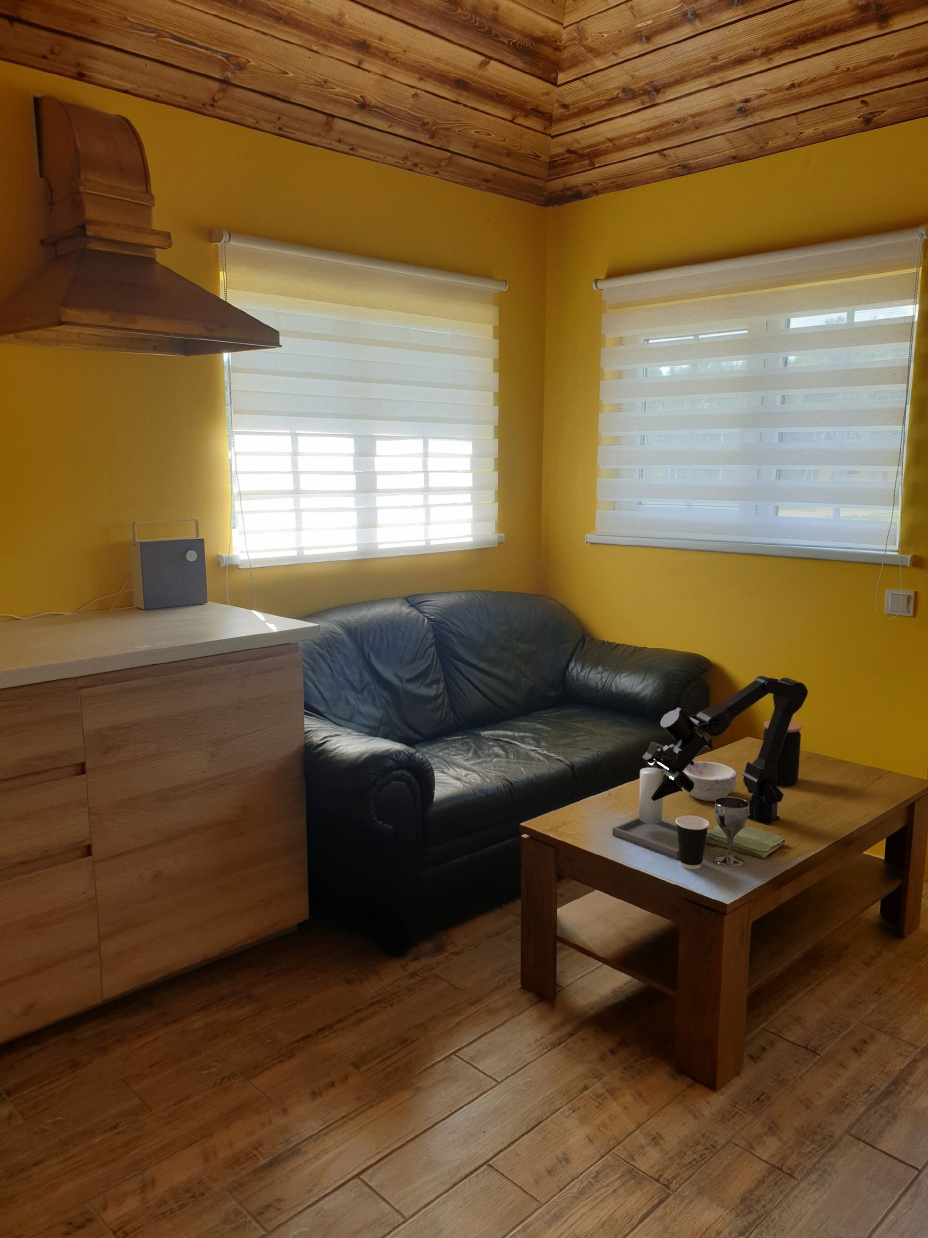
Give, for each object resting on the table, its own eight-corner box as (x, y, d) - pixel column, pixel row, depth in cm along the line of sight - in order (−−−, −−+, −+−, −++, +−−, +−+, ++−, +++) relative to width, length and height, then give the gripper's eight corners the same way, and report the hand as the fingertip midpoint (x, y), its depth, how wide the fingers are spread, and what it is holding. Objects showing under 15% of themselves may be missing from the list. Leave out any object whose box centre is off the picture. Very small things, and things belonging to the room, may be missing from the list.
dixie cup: (666, 862, 225) (668, 819, 223) (691, 855, 229) (693, 813, 227) (689, 874, 218) (691, 830, 216) (714, 867, 222) (716, 824, 220)
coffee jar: (767, 773, 288) (770, 717, 284) (802, 780, 281) (805, 723, 278) (755, 783, 279) (759, 725, 276) (791, 790, 273) (795, 731, 270)
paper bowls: (727, 809, 259) (729, 782, 257) (674, 799, 266) (675, 773, 265) (740, 792, 272) (742, 766, 270) (689, 783, 279) (691, 758, 278)
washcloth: (766, 862, 226) (767, 850, 225) (699, 843, 237) (700, 831, 236) (787, 845, 235) (787, 833, 235) (722, 827, 247) (722, 816, 246)
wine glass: (747, 868, 221) (750, 809, 219) (713, 866, 223) (716, 807, 220) (744, 855, 229) (747, 797, 226) (711, 852, 230) (714, 795, 228)
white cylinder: (664, 816, 243) (666, 769, 240) (659, 825, 237) (660, 776, 235) (641, 813, 245) (643, 766, 243) (636, 821, 240) (637, 773, 238)
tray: (708, 843, 236) (709, 836, 235) (676, 859, 226) (677, 851, 226) (644, 820, 250) (645, 814, 250) (612, 835, 241) (612, 827, 241)
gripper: (649, 721, 247) (611, 765, 246) (685, 742, 229) (643, 789, 228) (675, 747, 251) (637, 790, 250) (712, 769, 233) (671, 815, 232)
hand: (646, 795), depth 240 cm, fingers closed on white cylinder, 6 cm apart
